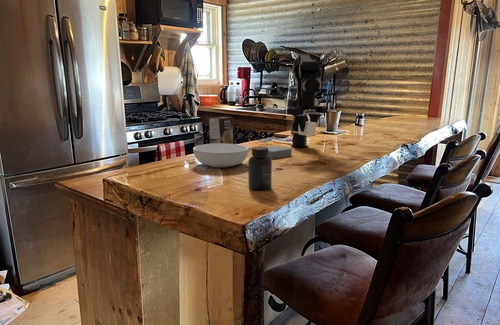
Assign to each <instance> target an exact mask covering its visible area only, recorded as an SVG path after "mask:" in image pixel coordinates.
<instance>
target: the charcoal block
mask: <svg viewBox="0 0 500 325" xmlns="http://www.w3.org/2000/svg"><path fill="white" fill-rule="evenodd" d="M266 147H267V148H268V153H269V154H268V157H270V158H271V160H275V158H276V159H280V158H281V157H282V158H286V156H288V157H291V156H292V154H293V153H292V148H290V147H284V146H280V145H279V146H278V145H268V146H266Z"/></svg>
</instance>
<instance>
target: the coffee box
mask: <svg viewBox="0 0 500 325" xmlns="http://www.w3.org/2000/svg"><path fill="white" fill-rule="evenodd" d="M233 127H234V120H233V117H232V116H217V117H210V118H209V144H218V143H224V144H234V128H233Z"/></svg>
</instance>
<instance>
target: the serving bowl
mask: <svg viewBox="0 0 500 325" xmlns="http://www.w3.org/2000/svg"><path fill="white" fill-rule="evenodd" d="M192 150H193V155H194V158H195V159H196V160H197V161H198V162H199V163H201V164H202V165H205V166H209V167H212V168H221V169H223V168H231V167H233V166H237V165H239V164H241V163H243V162H244V161H245V160H246V159H247V158H248V155H249V150H250V148H249V147H248V146H247V145H242V144H238V143H233V144H224V143H218V144H210V143H206V144H200V145H196V146H194V147H193V148H192Z"/></svg>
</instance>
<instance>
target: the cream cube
mask: <svg viewBox="0 0 500 325" xmlns="http://www.w3.org/2000/svg"><path fill="white" fill-rule="evenodd" d="M316 129H317V123H316V122H310V121H309V122H306V125H305V129H304V132H301V130H300V126H299V127H298V134H300V135H306V136H314V135H316V134H317V130H316Z"/></svg>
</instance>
